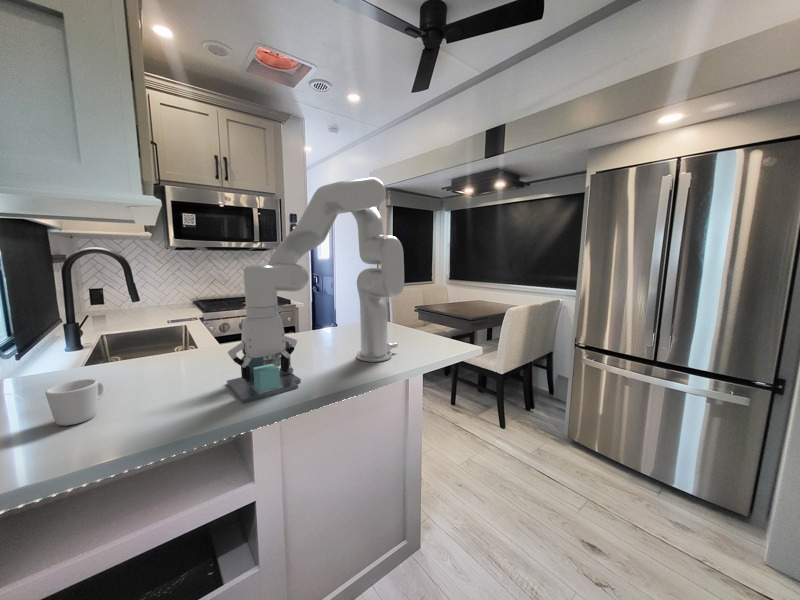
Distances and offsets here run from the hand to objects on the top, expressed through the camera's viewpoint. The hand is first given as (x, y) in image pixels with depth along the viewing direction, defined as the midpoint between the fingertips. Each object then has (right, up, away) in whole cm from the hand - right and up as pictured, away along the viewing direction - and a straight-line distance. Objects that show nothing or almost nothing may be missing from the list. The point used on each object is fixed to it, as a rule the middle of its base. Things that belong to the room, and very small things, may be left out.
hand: (266, 375), depth 84 cm
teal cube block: (0, -3, 0) cm, 3 cm away
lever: (+1, -2, +11) cm, 11 cm away
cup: (-36, -6, -13) cm, 39 cm away
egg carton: (-8, -2, +24) cm, 25 cm away
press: (-2, -4, +5) cm, 6 cm away
